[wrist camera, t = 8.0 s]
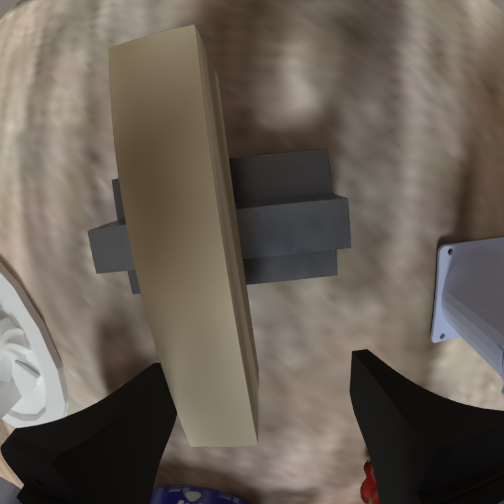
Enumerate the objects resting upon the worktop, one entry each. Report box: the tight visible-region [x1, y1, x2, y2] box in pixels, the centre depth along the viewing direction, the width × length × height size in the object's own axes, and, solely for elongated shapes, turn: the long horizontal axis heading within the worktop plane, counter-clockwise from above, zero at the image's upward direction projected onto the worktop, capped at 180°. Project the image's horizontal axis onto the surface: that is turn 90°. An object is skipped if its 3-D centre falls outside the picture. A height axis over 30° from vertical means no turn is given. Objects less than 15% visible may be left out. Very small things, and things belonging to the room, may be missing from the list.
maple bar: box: [109, 25, 259, 447], centre depth 13 cm, size 3×16×6 cm, turn 7°
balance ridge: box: [88, 149, 351, 294], centre depth 18 cm, size 14×8×5 cm, turn 97°
